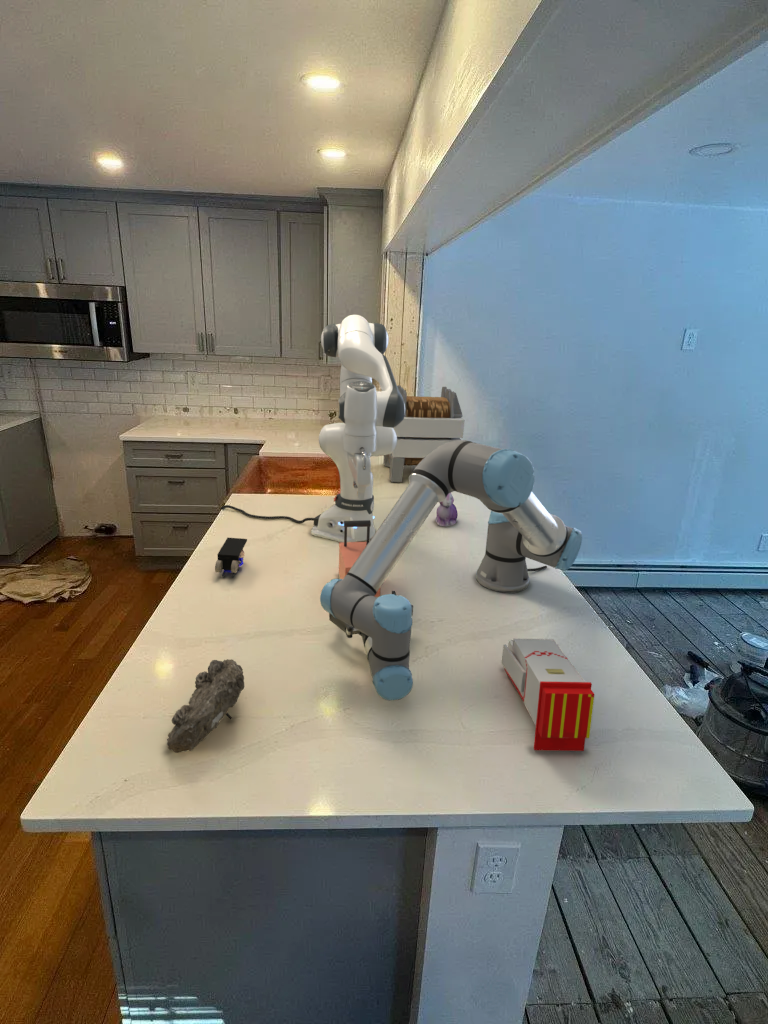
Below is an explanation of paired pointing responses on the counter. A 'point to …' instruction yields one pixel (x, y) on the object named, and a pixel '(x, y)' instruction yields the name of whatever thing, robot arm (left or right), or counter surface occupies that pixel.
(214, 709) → the fossil
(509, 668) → the toy
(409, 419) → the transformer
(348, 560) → the lid
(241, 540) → the figurine character
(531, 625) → the counter surface
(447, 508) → the figurine
